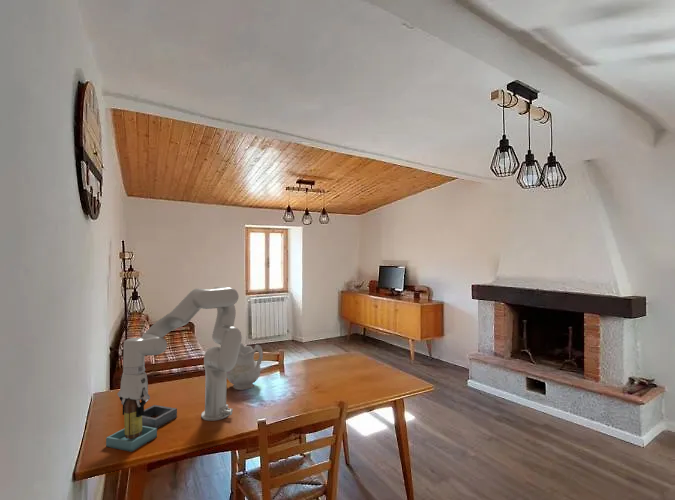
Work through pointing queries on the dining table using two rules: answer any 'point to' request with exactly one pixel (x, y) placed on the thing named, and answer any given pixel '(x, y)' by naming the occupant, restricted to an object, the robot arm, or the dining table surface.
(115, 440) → the teal tray
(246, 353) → the ceramic pitcher
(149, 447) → the dining table surface
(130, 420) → the sauce bottle
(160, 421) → the steel collar
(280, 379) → the dining table surface
